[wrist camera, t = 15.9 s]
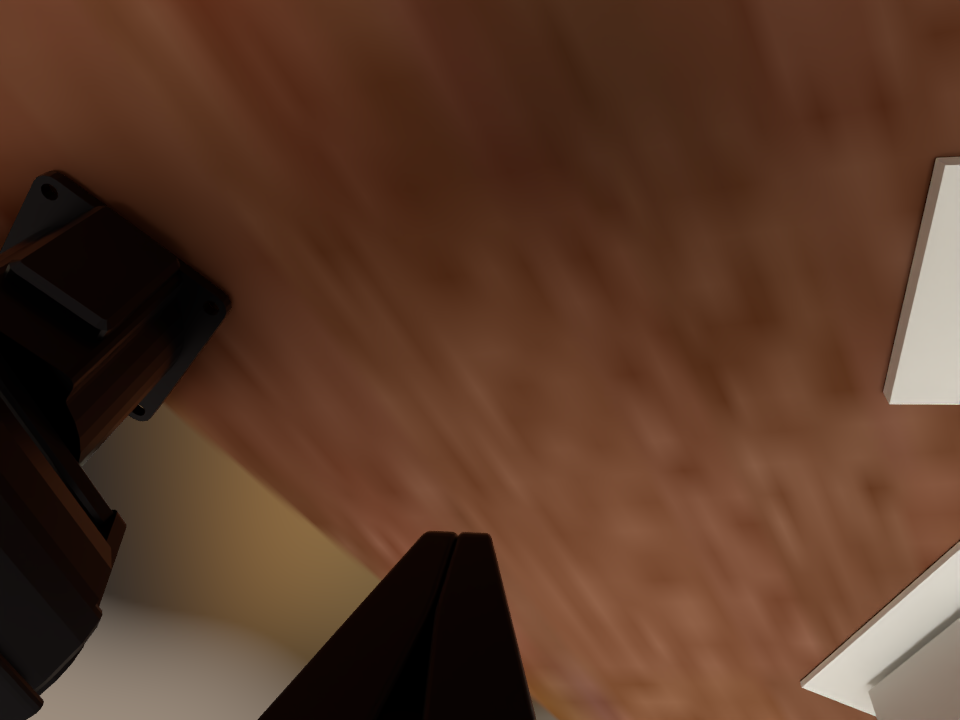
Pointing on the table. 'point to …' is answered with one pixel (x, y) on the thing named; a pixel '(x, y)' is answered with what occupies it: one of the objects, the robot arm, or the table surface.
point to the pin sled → (923, 683)
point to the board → (931, 302)
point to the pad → (891, 636)
